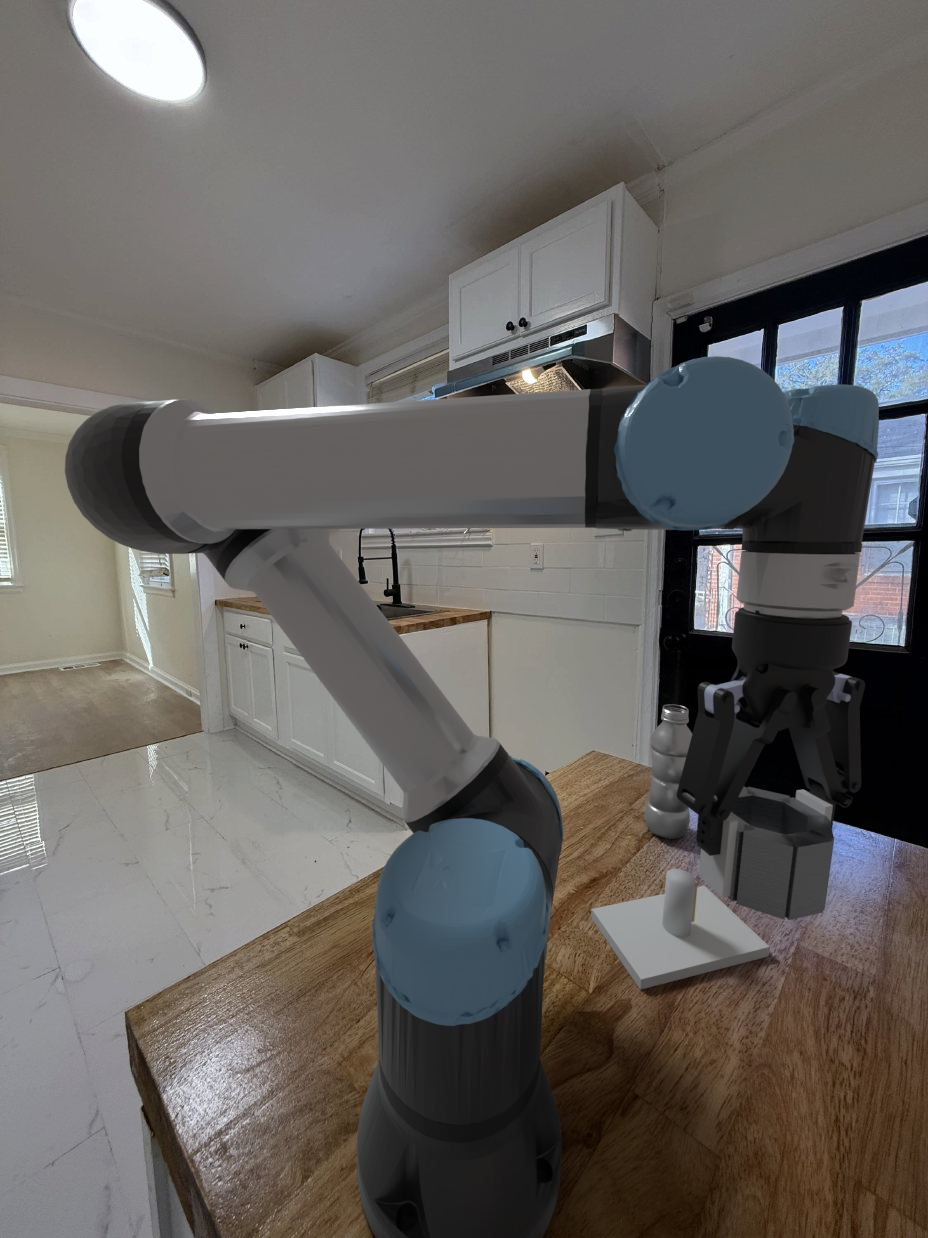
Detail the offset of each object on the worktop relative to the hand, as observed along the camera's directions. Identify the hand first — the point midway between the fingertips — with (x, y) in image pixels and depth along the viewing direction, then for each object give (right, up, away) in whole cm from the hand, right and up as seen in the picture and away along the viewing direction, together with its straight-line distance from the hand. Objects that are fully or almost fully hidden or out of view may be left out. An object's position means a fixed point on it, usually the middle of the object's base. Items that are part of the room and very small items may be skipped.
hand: (760, 876), depth 42 cm
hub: (0, 0, 0) cm, 0 cm away
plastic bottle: (+6, -12, +36) cm, 38 cm away
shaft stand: (-1, -15, +16) cm, 22 cm away
